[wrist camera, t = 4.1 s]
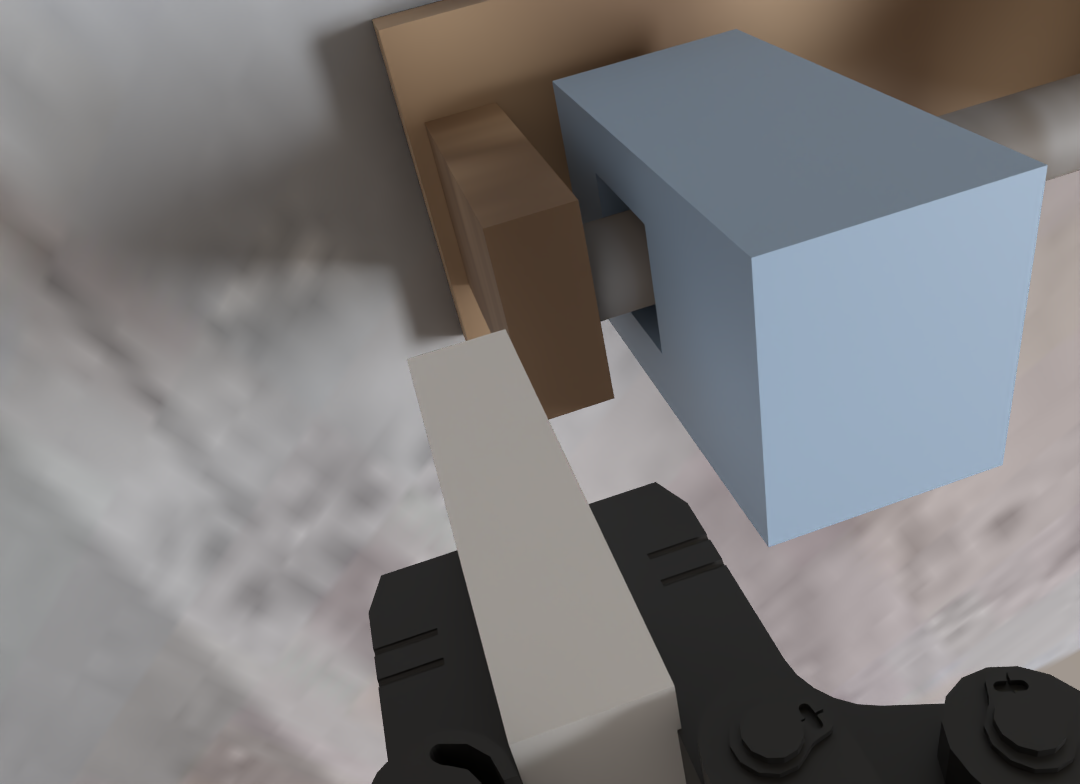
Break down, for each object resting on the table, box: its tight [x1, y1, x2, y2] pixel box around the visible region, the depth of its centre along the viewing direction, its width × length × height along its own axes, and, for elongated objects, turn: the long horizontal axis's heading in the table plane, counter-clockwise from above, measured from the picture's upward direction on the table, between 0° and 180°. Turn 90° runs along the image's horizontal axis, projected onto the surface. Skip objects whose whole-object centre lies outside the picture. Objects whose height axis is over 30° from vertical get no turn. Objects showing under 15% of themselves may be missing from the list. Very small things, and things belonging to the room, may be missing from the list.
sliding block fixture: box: [372, 0, 1080, 420], centre depth 18 cm, size 22×8×10 cm, turn 102°
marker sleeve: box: [552, 29, 1048, 547], centre depth 16 cm, size 4×5×9 cm
